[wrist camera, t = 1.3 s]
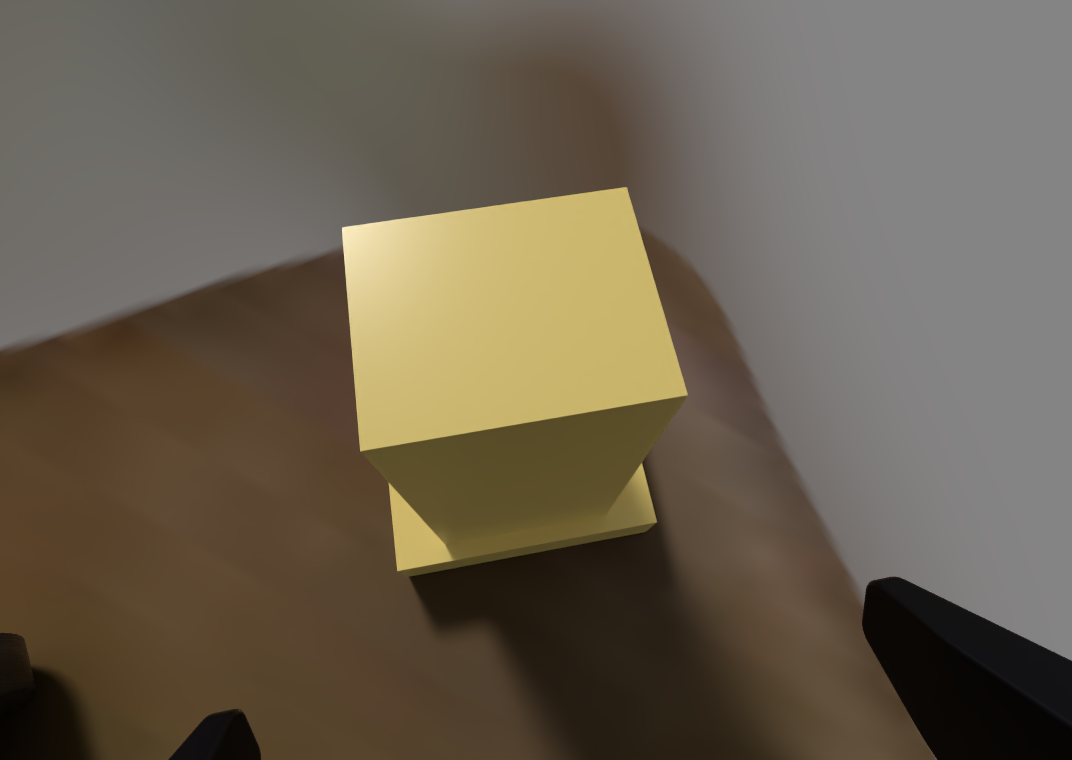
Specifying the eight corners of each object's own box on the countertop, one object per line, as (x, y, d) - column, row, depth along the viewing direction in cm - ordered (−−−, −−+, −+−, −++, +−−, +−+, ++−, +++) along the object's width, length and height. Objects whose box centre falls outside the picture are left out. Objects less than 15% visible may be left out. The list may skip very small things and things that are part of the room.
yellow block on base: (645, 532, 21) (791, 409, 10) (409, 576, 20) (257, 503, 9) (612, 395, 23) (700, 153, 11) (394, 432, 22) (251, 215, 11)
